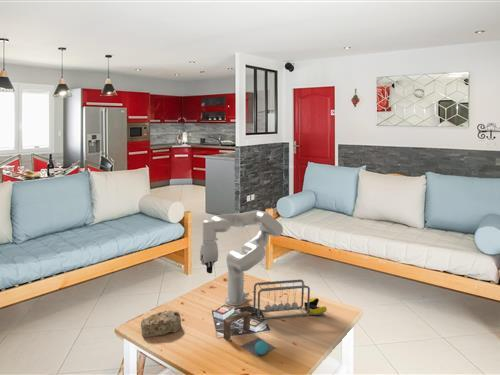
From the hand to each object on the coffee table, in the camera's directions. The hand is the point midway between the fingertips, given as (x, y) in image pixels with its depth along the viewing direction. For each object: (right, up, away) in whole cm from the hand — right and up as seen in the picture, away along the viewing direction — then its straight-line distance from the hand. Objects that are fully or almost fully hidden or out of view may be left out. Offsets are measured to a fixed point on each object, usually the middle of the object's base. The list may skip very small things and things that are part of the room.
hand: (209, 272), depth 234 cm
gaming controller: (+60, -23, +3) cm, 65 cm away
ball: (+28, -27, -42) cm, 57 cm away
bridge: (+16, -27, -24) cm, 39 cm away
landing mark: (+27, -29, -36) cm, 53 cm away
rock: (-23, -26, -20) cm, 40 cm away
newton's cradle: (+41, -24, -1) cm, 47 cm away
